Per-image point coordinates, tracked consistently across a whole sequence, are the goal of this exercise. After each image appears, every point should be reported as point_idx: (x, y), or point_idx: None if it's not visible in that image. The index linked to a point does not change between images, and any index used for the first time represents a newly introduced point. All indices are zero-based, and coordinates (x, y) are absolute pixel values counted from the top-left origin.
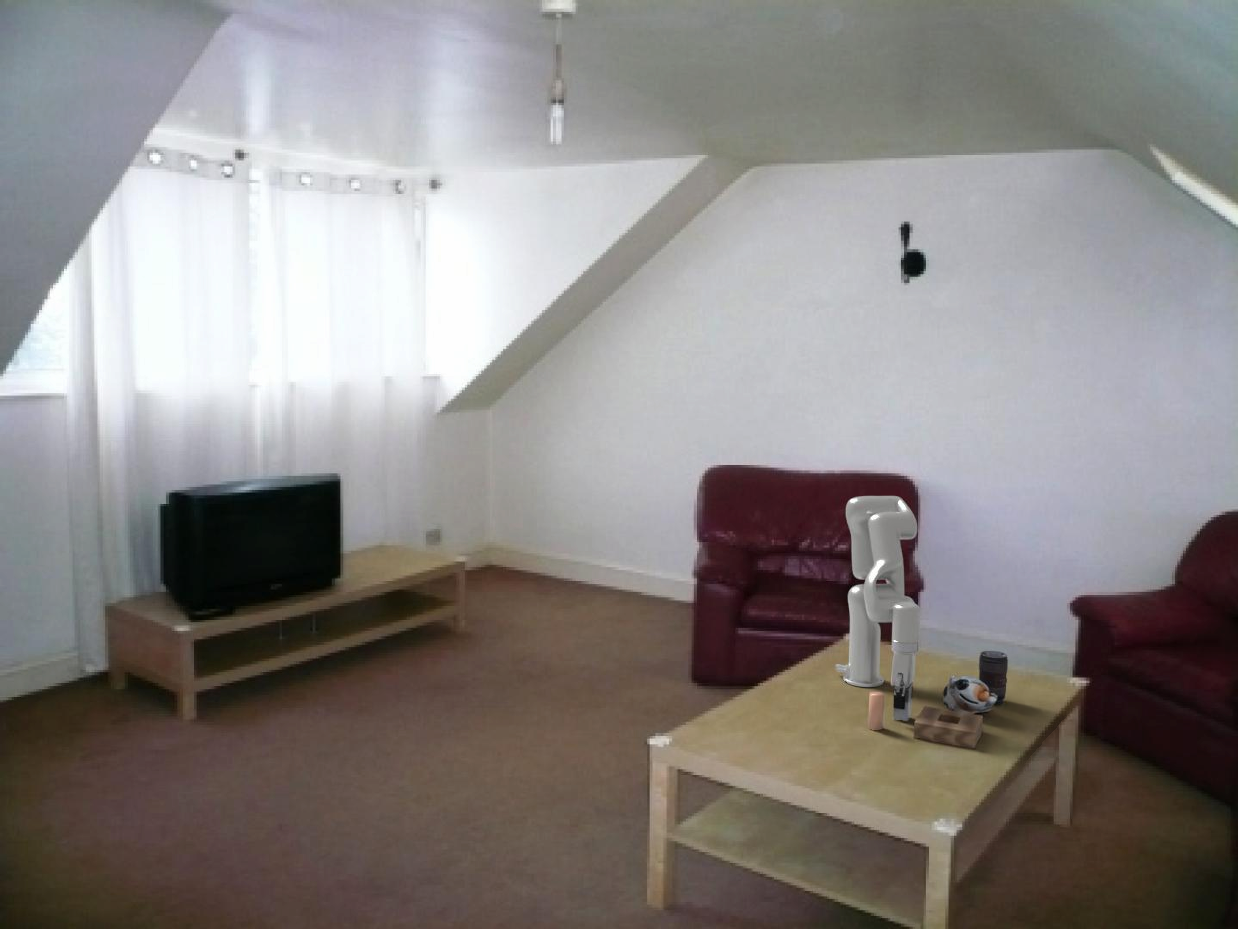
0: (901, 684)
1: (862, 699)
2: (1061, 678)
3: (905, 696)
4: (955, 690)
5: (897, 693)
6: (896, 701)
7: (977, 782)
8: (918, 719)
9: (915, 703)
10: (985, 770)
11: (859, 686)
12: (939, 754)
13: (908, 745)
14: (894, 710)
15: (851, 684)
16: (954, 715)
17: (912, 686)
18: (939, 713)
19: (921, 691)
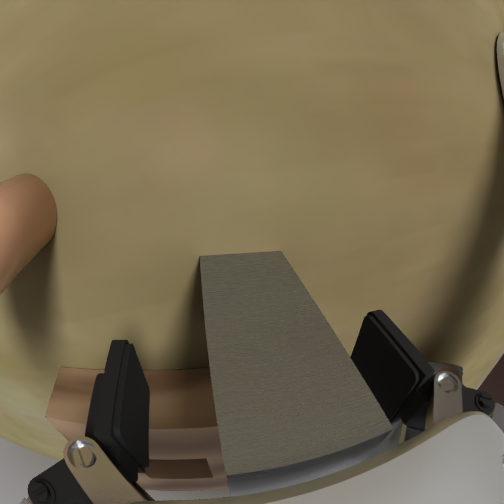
0: (328, 468)
1: (424, 56)
2: (481, 382)
3: (141, 469)
4: (389, 448)
5: (62, 473)
6: (91, 403)
7: (13, 438)
8: (82, 427)
9: (432, 275)
10: (56, 453)
11: (498, 68)
12: (35, 412)
13: (7, 356)
14: (202, 293)
15: (497, 44)
16: (219, 471)
17: (393, 420)
18: (209, 457)
19: (494, 258)
